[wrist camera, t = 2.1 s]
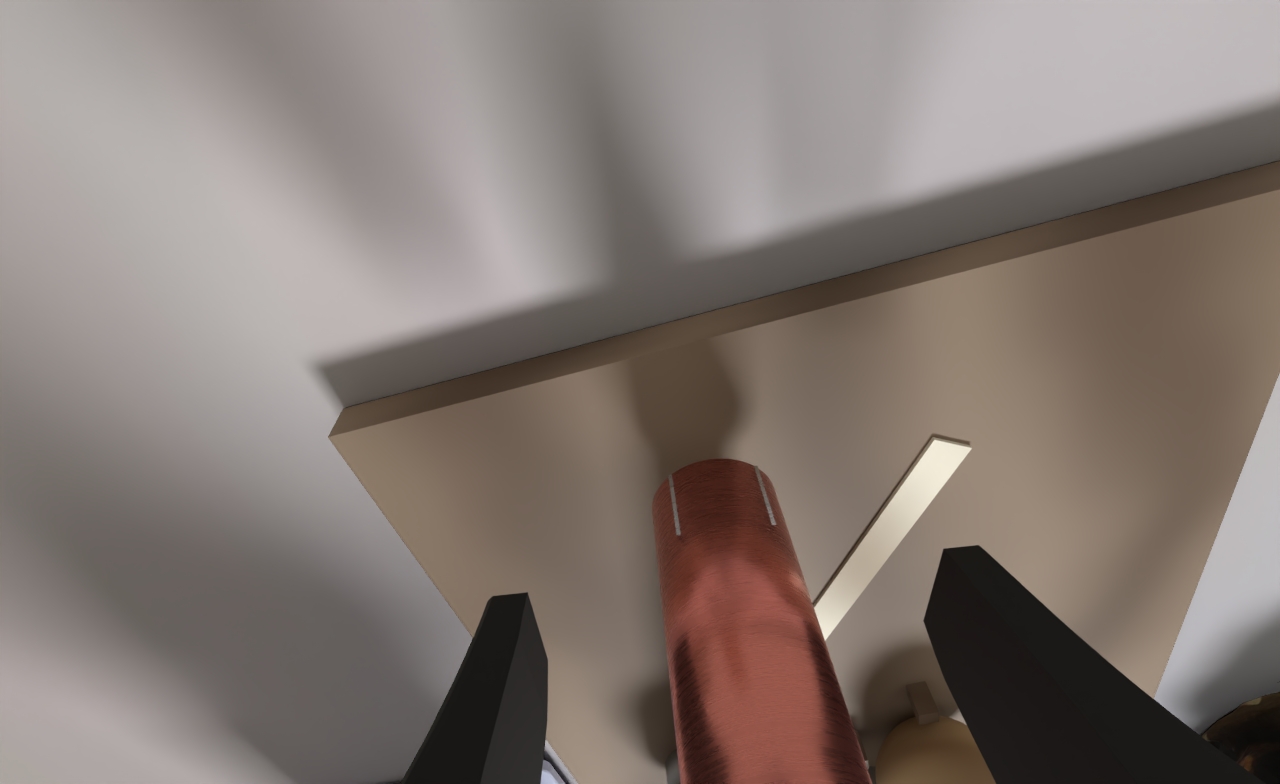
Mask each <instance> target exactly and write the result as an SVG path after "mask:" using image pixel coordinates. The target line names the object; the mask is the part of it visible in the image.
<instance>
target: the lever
mask: <svg viewBox="0 0 1280 784" xmlns="http://www.w3.org/2000/svg"><path fill="white" fill-rule="evenodd" d="M652 515H653V525H654V535H655V544H656V554H657V563H658V573H659V583H660V592H661V602H662V611H663V621H664V631H665V640H666V650H667V659H668V669H669V679H670V688H671V698H672V707H673V717H674V727H675V736H676V746H677V755H678V765H679V775H680V782H679V783H677V784H872V781H871V778H870V775H869V772H868V769H867V766H866V763H865V760H864V757H863V754H862V751H861V748H860V745H859V742H858V739H857V736H856V733H855V730H854V727H853V724H852V721H851V718H850V715H849V712H848V709H847V706H846V703H845V700H844V697H843V694H842V691H841V688H840V685H839V682H838V679H837V676H836V673H835V670H834V667H833V664H832V661H831V658H830V655H829V652H828V649H827V646H826V642H825V639H824V636H823V633H822V630H821V627H820V624H819V621H818V618H817V615H816V612H815V609H814V606H813V603H812V600H811V597H810V594H809V591H808V588H807V585H806V582H805V579H804V576H803V573H802V570H801V567H800V564H799V561H798V558H797V555H796V552H795V549H794V546H793V543H792V540H791V537H790V534H789V531H788V528H787V525H786V522H785V519H784V516H783V513H782V510H781V507H780V504H779V501H778V498H777V495H776V492H775V489H774V486H773V484H772V482H771V480H770V479H769V477H768V476H767V475H766V474H765V473H764V472H763V471H761V470H760V469H759V468H758V465H756V466H753V465H751V464H749V463H746V462H743V461H740V460H734V459H723V458H719V459H709V460H703V461H699V462H695V463H693V464H690V465H687V466H685V467H683V468H681V469H679V470H678V471H676V472H675V473H673V474H672V475H668V478H667V479H666V480H665V481H664V482H663V483H662V484H661V486H660V487H659V488H658V490H657V492H656V494H655V496H654V499H653V504H652Z"/></svg>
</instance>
